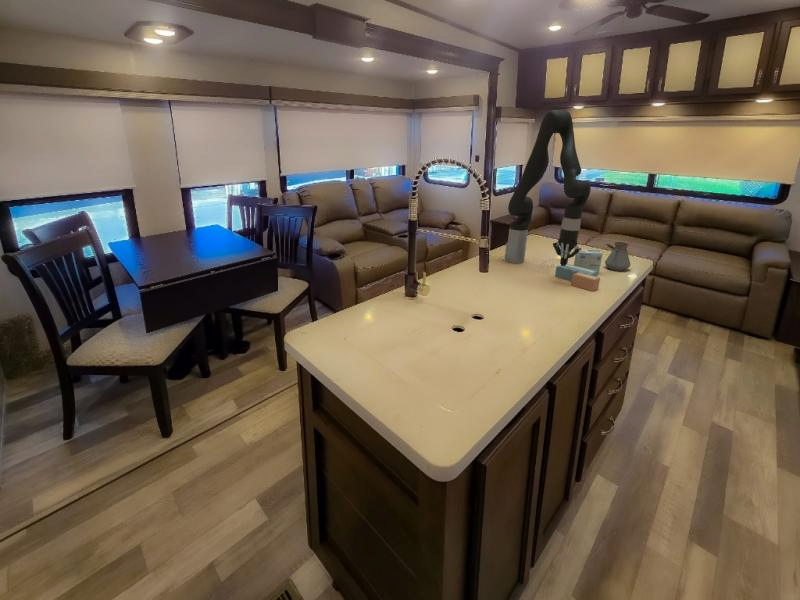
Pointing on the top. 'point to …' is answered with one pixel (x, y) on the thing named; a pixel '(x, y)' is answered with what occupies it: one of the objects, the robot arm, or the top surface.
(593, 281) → the orange labelled box
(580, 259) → the light bulb box
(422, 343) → the top surface
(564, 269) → the blue labelled box
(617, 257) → the coffee pot
